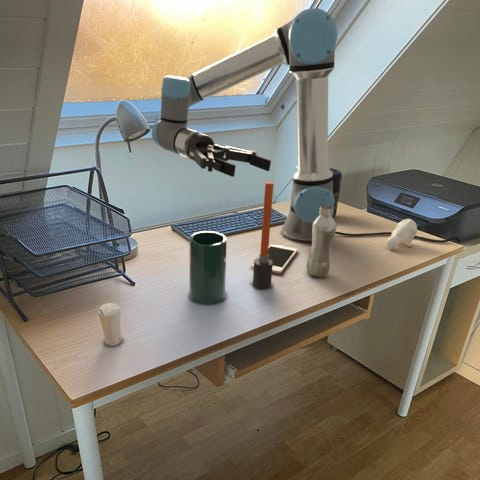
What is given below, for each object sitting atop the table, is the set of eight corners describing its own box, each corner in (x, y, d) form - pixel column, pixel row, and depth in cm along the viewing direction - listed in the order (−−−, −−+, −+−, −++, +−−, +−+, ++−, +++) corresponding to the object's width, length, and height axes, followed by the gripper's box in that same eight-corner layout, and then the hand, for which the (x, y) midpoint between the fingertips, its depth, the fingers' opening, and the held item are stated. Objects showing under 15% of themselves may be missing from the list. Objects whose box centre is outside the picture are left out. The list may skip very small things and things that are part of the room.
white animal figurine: (421, 220, 154) (400, 231, 148) (416, 244, 159) (396, 256, 153) (404, 214, 158) (383, 225, 152) (399, 238, 163) (379, 249, 157)
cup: (218, 285, 129) (220, 229, 120) (229, 301, 122) (231, 243, 113) (186, 289, 126) (185, 232, 118) (195, 306, 119) (194, 247, 111)
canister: (335, 221, 175) (342, 172, 166) (309, 219, 176) (315, 169, 167) (336, 213, 183) (343, 165, 174) (311, 210, 184) (317, 163, 175)
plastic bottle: (314, 267, 141) (324, 201, 131) (333, 275, 137) (344, 208, 127) (300, 273, 137) (309, 206, 127) (319, 281, 133) (329, 213, 123)
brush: (266, 279, 133) (274, 179, 118) (273, 288, 129) (282, 185, 114) (250, 281, 132) (256, 180, 117) (256, 290, 128) (263, 186, 113)
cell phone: (251, 268, 139) (251, 265, 138) (271, 246, 153) (271, 243, 152) (280, 274, 136) (280, 271, 135) (297, 251, 150) (297, 248, 150)
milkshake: (96, 346, 103) (90, 306, 97) (110, 334, 107) (105, 295, 102) (114, 351, 101) (109, 311, 96) (127, 338, 106) (123, 299, 100)
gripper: (225, 156, 142) (279, 177, 131) (159, 164, 125) (215, 189, 114) (228, 130, 138) (285, 149, 127) (160, 134, 121) (219, 157, 110)
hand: (252, 168), depth 120 cm, fingers open, 13 cm apart
